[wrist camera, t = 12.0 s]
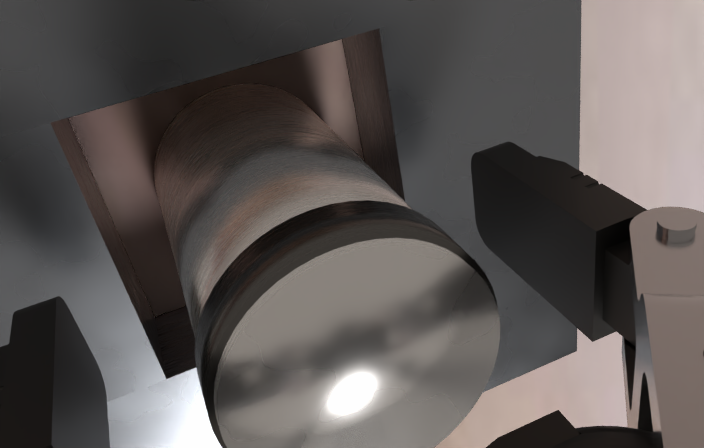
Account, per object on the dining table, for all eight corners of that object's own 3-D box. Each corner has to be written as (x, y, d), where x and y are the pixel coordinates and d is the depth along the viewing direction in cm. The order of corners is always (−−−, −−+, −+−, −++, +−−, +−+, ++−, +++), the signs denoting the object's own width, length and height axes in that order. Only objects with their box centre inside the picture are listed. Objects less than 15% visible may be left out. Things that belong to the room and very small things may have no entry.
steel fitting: (314, 56, 15) (497, 192, 9) (348, 219, 18) (511, 423, 11) (120, 112, 14) (161, 314, 8) (184, 277, 17) (257, 539, 10)
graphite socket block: (507, -285, 14) (585, -313, 11) (529, 306, 22) (576, 350, 20) (-396, -124, 10) (-516, -123, 8) (43, 507, 18) (40, 587, 16)
